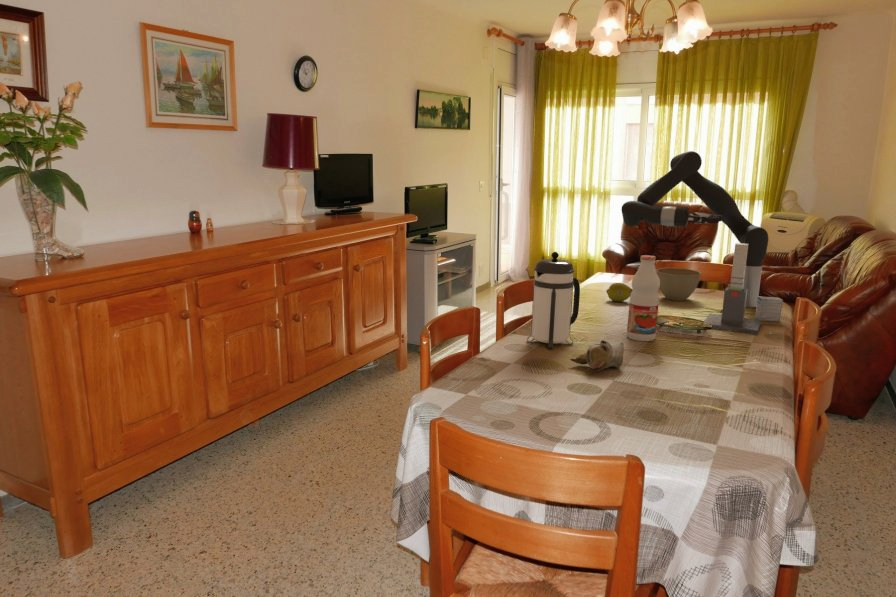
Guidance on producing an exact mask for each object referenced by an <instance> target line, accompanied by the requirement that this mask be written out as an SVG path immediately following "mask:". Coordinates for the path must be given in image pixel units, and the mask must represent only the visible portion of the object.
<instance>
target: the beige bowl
mask: <svg viewBox="0 0 896 597" xmlns="http://www.w3.org/2000/svg"><path fill="white" fill-rule="evenodd" d="M656 273H657V275H658V277H659V279H660V287H659V290H660V291H661V293H662V294H663V296H664V298H666V299H667V300H670V301H676V302H683V301H687V299H688V298H690V296H692V294H694V291H695V290H696V289H697V287H698V285H699V283H700V278H701V276H702V274H701V272H700V271H698V270H695V269H689V268H681V267H662V268H657V269H656Z"/></svg>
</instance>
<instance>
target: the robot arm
mask: <svg viewBox="0 0 896 597" xmlns="http://www.w3.org/2000/svg"><path fill="white" fill-rule="evenodd" d="M702 160H703V159H702V156H700V154H699V153H698V152H696V151H693V150H690V151H685V152H682V153H680V154H677V155H675V156H673V157H672V158H671V160H670V164H669V166H670V170H669V171H668V172H667V173H666V174H664V175H662V176H661V177H660V178H658V179H656V180H655V181H654V182H653V183H651V184H650V185H648V186H647V187H646V188H645V189H644V190H643V191H642V192H641V193H640V194H638V196H637V199H636V200H628V201H626V202H624V203H623V204H622V206H621V214H622V220H623V222H624V224H625V225H626V226H628V227H635V226H638V225H640V223H642V221H643V220H644V219H645V221H646V223H648V224H650V225H656V226H657V225H658V226H660V225H662V226H666V227H679V228H687V226H688V225H689V223H692V224H698V225H699V224H702V225H703V224H708V223H709V224H718V223H719V222H722V223H724V225H725V226H727V228H728V229H729V230H730V231H731V233H732V234H733V236H734V237H735V238H736V239H737V241H738V243H743V244H748V252H747V260H746V268H745V277H744V284H743V286H744V288H743V289H748V291H747V299H746V307H745V308H756V305H757V298H758V297H759V294H760V285H761V277H762V270H763V264H764V261H765V259H766V257H767V256H766V255H767V250H768V246H769V233H768V231H767V230H766V229H765V228H763V227H760V226H756V225H754V224H752V223H751V222H750V221H749V220H748V219H747V218H746V217H745V216H744V215H743V214H742V212H741V211H740V209H739V207H738V205H737V203H736V201H735V199H734V198H733V197H732V196H731V195H730V193H728V191H727V190H726V189H724V187H722V186H720V185H719V184H718V183H715V182H713V181H712V180H709V179H708V178H706V177H705V176H703V175H702V174H701V173H700V172H699V170H700V169H701V166H702V164H703V161H702ZM682 182H683V183H684V185H686V186H687V187H688V188H689V189H691V191H693V193H694V194H695V195H696V196H697V197H698V198H699V200H701V201H702V202H703V203H704V205H705V206H706V207H707V208H708V209H709V210H710V211H711V213H712V214H711V213H706V212H697V211H696V212H695V211H694V212H692V213H691V212H690V208H689V207H688V206H674V205H673V206H670V205H668V206H663V205H662V206H658V205H656V204H657V203H658V202H660V201H661V200H662V199H663V198H664V197H665V196H666V195H667V194H668V193H669V192H670V191H672V189H674V188H675V187H676V186H677V185H679V184H680V183H682Z"/></svg>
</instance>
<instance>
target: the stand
mask: <svg viewBox="0 0 896 597" xmlns="http://www.w3.org/2000/svg"><path fill="white" fill-rule="evenodd" d="M729 288H730V286H727V287H726V288H725V289H724V293H723V301H722V302H723V303H722V309H721V310H722V311H721V314H718V313H709V314H708V315H707V317H706V318H705V319H704V321H703V322H704V323H707V324H710V325H712V328H711V329H714V330H719V331H727V332H735V333H743V334H749V335H758V332H759V330H760V327H761V324H762V321H761V320H758V319H756V318H749V317H745V315H746V314H745V313H746V308H747V307H746V299H747V291H748V289H743V292H742V291H733V290H729Z"/></svg>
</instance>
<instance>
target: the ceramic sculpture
mask: <svg viewBox="0 0 896 597" xmlns="http://www.w3.org/2000/svg"><path fill="white" fill-rule="evenodd" d="M624 351H625V347H624V342H623V341H621V342H619V343H614V344H611V343H610V342H608V341H607V340H603V339H602V340H601V341H600V342H599V343H598V344H596V343H595V344H592V345H590V346H589V347H588V348H587V351H586V352H584V353H583V354H580V355H579V356H577V357H576V358H570V359H569V360H570V361H571V362H573V363H576V364H578V365H588V366H589V367H588V368H587V370H588V371H591V372H594V373H597V372H601V371H602V370H604V369H605V370H606V369H607V368H610V367H613V368H617V369H619V368H621V367H622V365H623V363H624Z"/></svg>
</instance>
